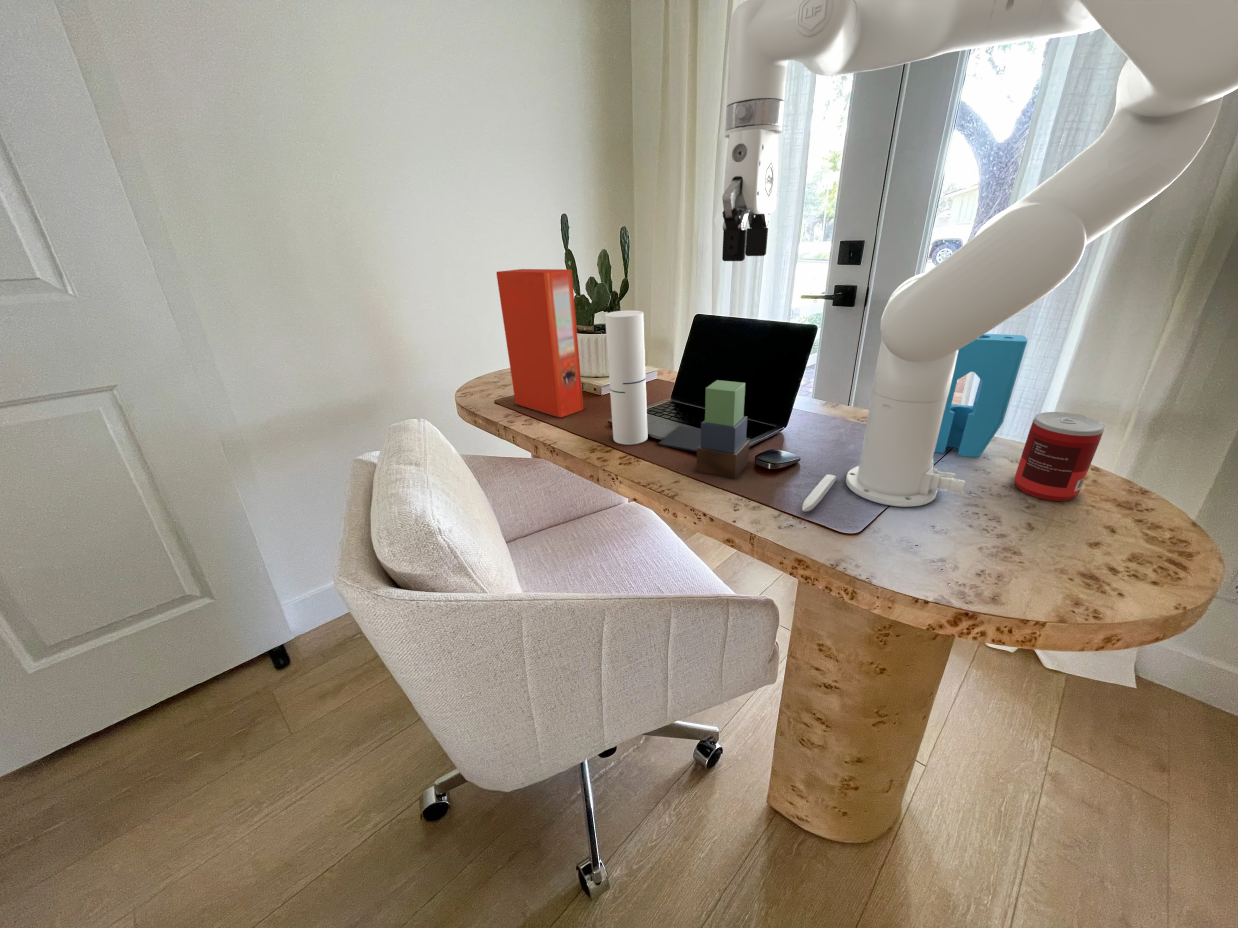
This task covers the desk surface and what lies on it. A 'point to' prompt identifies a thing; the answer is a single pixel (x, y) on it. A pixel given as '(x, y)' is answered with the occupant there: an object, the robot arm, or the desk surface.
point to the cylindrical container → (627, 375)
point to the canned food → (1057, 455)
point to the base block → (723, 461)
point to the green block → (724, 402)
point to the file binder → (542, 339)
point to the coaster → (683, 439)
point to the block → (981, 393)
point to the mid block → (723, 436)
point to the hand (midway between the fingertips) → (744, 258)
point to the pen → (818, 492)
